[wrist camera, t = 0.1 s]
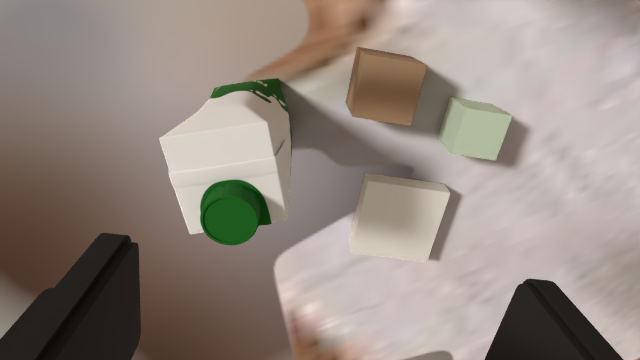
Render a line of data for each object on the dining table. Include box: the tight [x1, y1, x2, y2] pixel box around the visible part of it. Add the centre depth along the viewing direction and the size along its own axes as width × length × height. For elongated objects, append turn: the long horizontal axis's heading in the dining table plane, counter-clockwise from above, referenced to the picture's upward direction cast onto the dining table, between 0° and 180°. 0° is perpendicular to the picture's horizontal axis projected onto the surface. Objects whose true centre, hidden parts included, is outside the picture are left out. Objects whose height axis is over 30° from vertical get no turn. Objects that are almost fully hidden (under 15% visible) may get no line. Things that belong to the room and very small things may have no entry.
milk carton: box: [159, 79, 292, 245], centre depth 36 cm, size 9×9×20 cm
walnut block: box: [346, 47, 427, 126], centre depth 41 cm, size 6×6×6 cm
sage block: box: [437, 97, 512, 161], centre depth 44 cm, size 5×5×5 cm
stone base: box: [348, 173, 450, 262], centre depth 50 cm, size 10×10×2 cm
